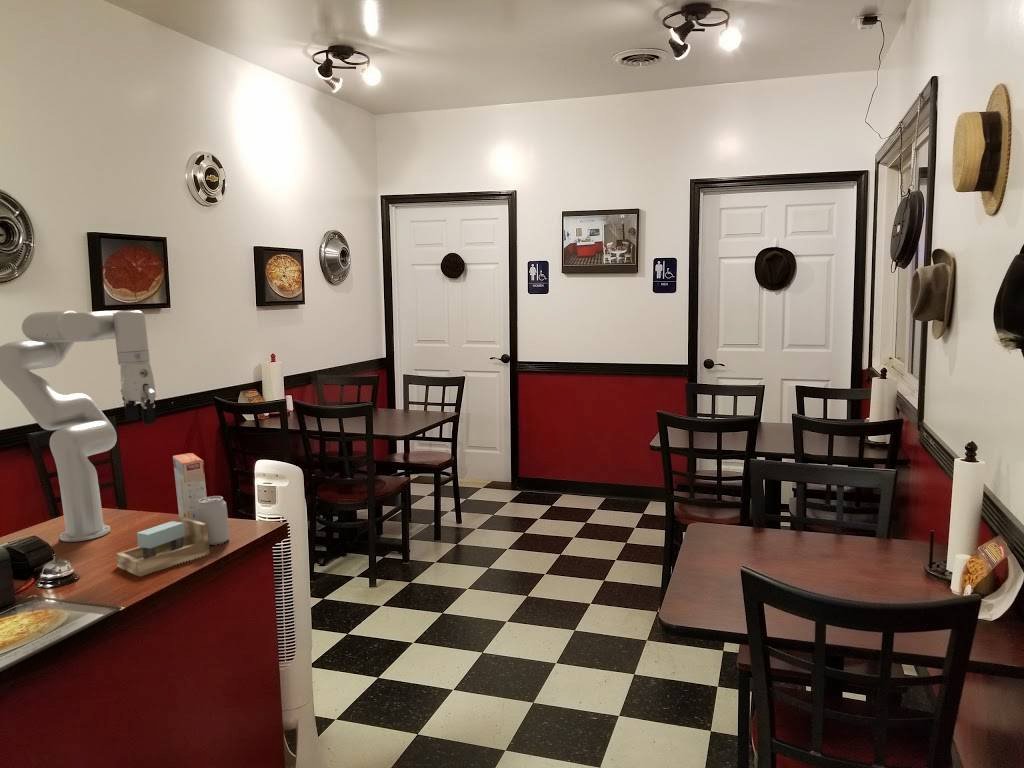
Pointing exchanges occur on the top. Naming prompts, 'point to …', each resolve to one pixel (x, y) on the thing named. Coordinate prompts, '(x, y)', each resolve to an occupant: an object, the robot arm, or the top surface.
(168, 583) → the top surface
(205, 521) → the can
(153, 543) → the block
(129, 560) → the wooden drawer
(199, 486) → the cracker box
